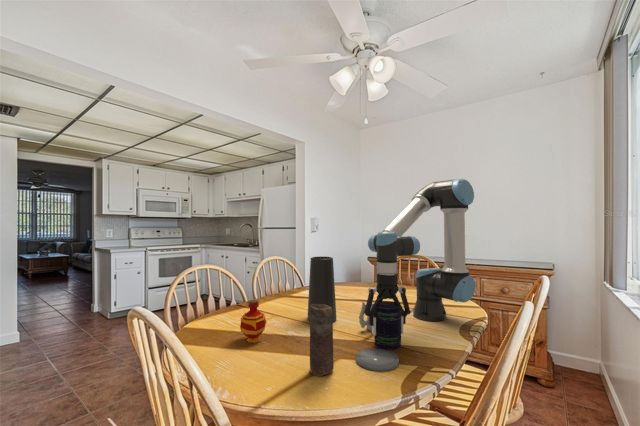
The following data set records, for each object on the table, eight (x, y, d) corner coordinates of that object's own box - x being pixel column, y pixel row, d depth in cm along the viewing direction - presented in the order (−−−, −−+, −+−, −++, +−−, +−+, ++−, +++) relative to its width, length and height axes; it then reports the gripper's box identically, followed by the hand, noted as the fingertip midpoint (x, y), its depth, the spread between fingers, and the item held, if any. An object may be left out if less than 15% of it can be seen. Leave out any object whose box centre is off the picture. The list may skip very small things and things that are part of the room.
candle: (309, 365, 98) (309, 302, 99) (331, 364, 99) (331, 301, 99) (310, 377, 90) (310, 309, 91) (335, 376, 91) (334, 308, 92)
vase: (302, 322, 140) (302, 258, 141) (314, 313, 153) (314, 255, 154) (330, 325, 135) (330, 260, 136) (340, 316, 148) (340, 256, 149)
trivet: (389, 350, 109) (389, 347, 109) (406, 369, 95) (406, 365, 95) (351, 353, 107) (351, 349, 107) (362, 372, 93) (362, 368, 93)
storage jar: (396, 352, 107) (395, 309, 108) (370, 346, 112) (369, 305, 113) (404, 343, 116) (404, 303, 116) (379, 338, 121) (379, 299, 121)
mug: (388, 330, 130) (387, 301, 130) (364, 334, 125) (364, 304, 125) (377, 324, 137) (377, 297, 137) (354, 328, 132) (354, 300, 132)
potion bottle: (271, 336, 122) (271, 299, 123) (258, 346, 113) (258, 305, 113) (248, 333, 126) (248, 297, 126) (233, 343, 116) (233, 303, 116)
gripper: (411, 271, 120) (411, 328, 119) (355, 272, 117) (355, 331, 116) (420, 274, 113) (420, 335, 112) (360, 275, 110) (360, 339, 109)
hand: (387, 333), depth 114 cm, fingers closed on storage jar, 10 cm apart
